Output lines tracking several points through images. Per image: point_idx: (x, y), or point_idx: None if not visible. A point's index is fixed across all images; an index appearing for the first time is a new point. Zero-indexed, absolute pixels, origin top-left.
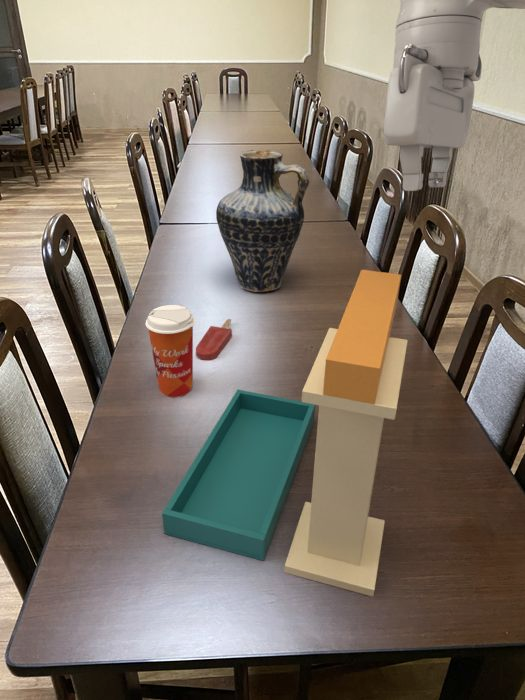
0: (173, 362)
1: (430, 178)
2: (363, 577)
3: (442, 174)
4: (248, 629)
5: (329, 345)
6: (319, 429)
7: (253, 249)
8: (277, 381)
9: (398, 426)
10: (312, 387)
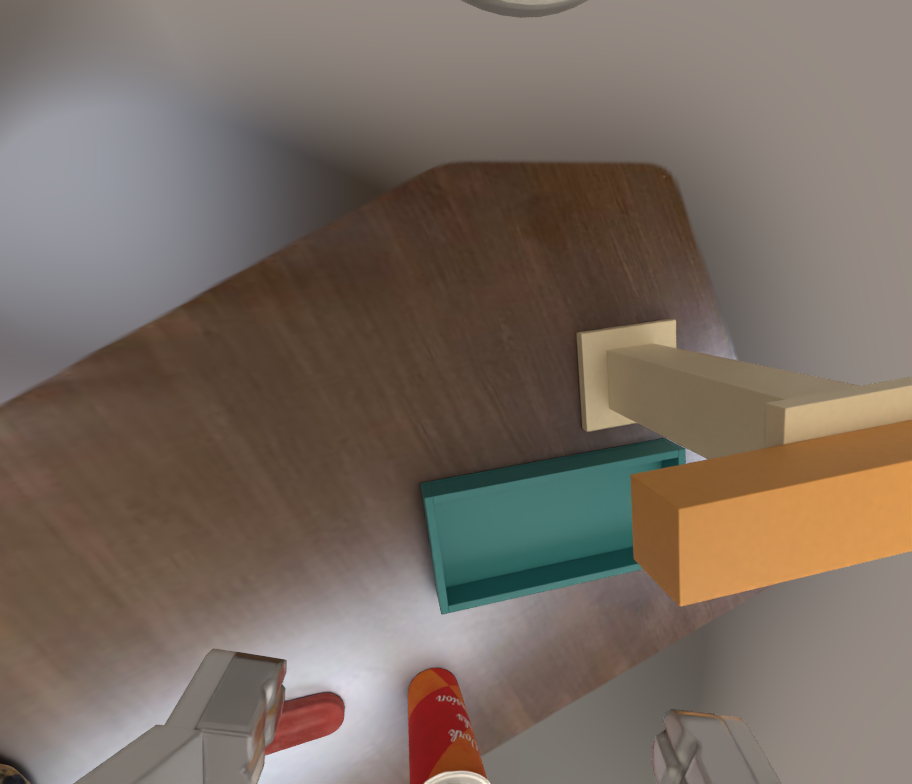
0: (469, 728)
1: (264, 755)
2: (665, 335)
3: (257, 726)
4: None
5: None
6: None
7: None
8: (341, 577)
9: (367, 363)
10: None
